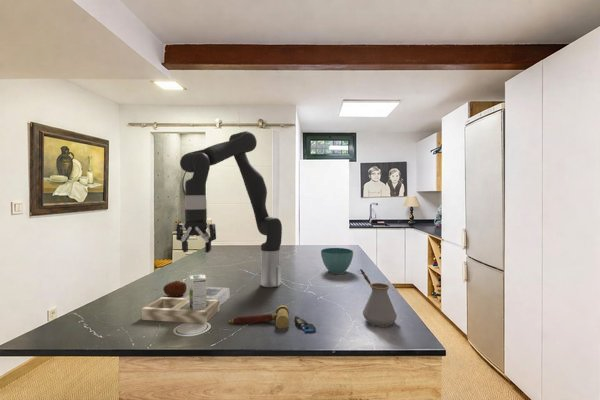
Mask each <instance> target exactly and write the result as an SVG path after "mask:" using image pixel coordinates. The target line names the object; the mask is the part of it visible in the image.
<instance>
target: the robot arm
mask: <svg viewBox="0 0 600 400" xmlns="http://www.w3.org/2000/svg"><path fill="white" fill-rule="evenodd" d="M256 138H257V137H256V135H255V134H254V133H253V132H251V131H248V130H246V131H241V132H238V133H234V134H231V135H230V136H229V138H228V141H227V140H226V141H224V142H221V143H215V144H213V145H211V146H208V147H206V148H203V149H199V150H195V151H194V150H193V151H191V152H187V153H185V154H184V155H182V156H181V158H180V161H179V165H180V168H181V169H182V171H184V172H186V173H192V177H191V178H189V179H186V180H185V184H184V185H185V186H184V190H185V191H184V192H185V195H184V196H185V197H184V198H185V199H184V221H185V223H178V224H176V234H175V235H176V240H177V241H180V243H181V250H182V252H183V253H188V252H189V241H188V240H189V239H190V237H191V236H192V237H194V236H196V237H201V239H203V240H204V241H205V245H204V246H205V254H206V253H207V254H208V253H210V251H211V250H212V241H216V239H217V231H216V230H217V229H216V224H215V223H209V224H208V221H207V220H208V219H207V218H208V216H207V215H208V213H207V211H208V209H207V207H208V206H207V197H206V194H207V193H206V185H207V181H208V176H209V172H210V167H211V166H215V165H217V164H219V163H221V162H223V161H225V160H227V159H229V158H232V157H234V158H233V159H234V160H235V162H236V164H237V166H238V169H239V173H240V174H241V177H242V180H243V183H244V186H245V190H246V193H247V197H248V198H249V200H250V205H251V207H252V211H253V215H254V220H255V223H256V228H257V229H258V232H259V233H260V234H261V235H263V236H266V241H265V242H263V243H261V244H260V286H261V287H264V288H275V287H276V288H278V287H279V286H280V285H281V283H282V280H281V279H282V276H281V275H282V272H281V271H282V265H281V262H280V261H281V260H280V257H281V253H280V252H281V245H282V237H283V235H282V234H283V227H282V221H281V220H280V219H279V218H277V217H273V216H272V217H271V216H270V215H269V213H268V209H267V205H266V203H267V196H268V195H267V194H268V190H267V185H266V182H265V179H264V177H263V175H262V174H261V173H260V171H259V170H258V169H256V168H255V167H254V165H252V164H251V162H250V160H249V159H248V156H247V153H251V152H252V151H254V150H255V149H256V147H257V144H258V143H257V139H256ZM184 229H185V230H186V231H185V233H184ZM207 229H208V230H209V232H208V231H207Z"/></svg>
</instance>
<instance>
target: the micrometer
mask: <svg viewBox="0 0 600 400" xmlns="http://www.w3.org/2000/svg"><path fill="white" fill-rule="evenodd" d="M294 322H295V325H296V326H297V328H300V330H303V331H304V333H314V332H316V327H315V325H314V324H313V323H309V322H307V321H306V320H304V319H302V318H300V316H298V315H295V317H294Z"/></svg>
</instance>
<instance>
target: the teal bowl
mask: <svg viewBox="0 0 600 400" xmlns="http://www.w3.org/2000/svg"><path fill="white" fill-rule="evenodd" d="M320 253H321V254H320V255H321V259H322V263H323V265H324V266H325V268H326V270H327V271H328V272H329V273H330V274H333V273H334V275H340V274H341V273H342V274H344V273H345V272H346V271H347V270H348V268H349V267H350V265H351V264H352V260H353V256H354V250H352V249H350V248H346V247H345V248H344V247H326V248H323V249H321V250H320Z"/></svg>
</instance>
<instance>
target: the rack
mask: <svg viewBox="0 0 600 400" xmlns="http://www.w3.org/2000/svg"><path fill="white" fill-rule="evenodd" d="M140 310H141V312H140V313H141V321H142V320H143V321H158V322H173V323H174V322H175V323H189V324H202V325H203V324H205V325H206V324H207V323H208V322H209V321H210V320H211V319H212V318H213V317H214V316H215V315H216V314H217V313H218V312H220V306H219V300H211V299H206V308H205V309H204V310H189V298H186V297H172V296H170V297H168V296H166V297H165V296H161V297H159V298H157V299H156V300H154V301H152V302H151V303H148V304H147V305H145V306H143V307H142V308H141V309H140Z"/></svg>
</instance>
